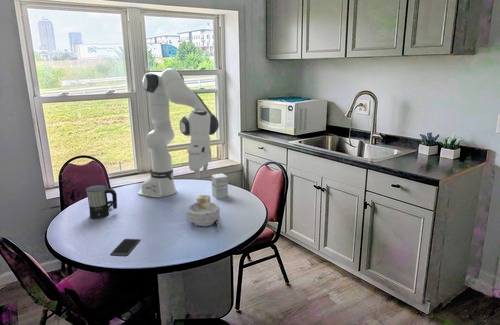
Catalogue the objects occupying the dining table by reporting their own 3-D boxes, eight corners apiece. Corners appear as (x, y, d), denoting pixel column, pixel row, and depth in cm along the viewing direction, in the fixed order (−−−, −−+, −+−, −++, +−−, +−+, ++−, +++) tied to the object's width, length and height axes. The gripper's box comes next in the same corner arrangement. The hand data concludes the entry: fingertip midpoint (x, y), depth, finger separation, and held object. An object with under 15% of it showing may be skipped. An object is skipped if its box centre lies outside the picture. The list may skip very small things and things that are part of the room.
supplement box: (212, 195, 206) (211, 174, 203) (223, 193, 209) (223, 172, 206) (216, 199, 200) (215, 178, 197) (228, 197, 203) (227, 176, 200)
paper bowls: (214, 230, 161) (214, 214, 159) (183, 227, 164) (182, 212, 162) (223, 217, 176) (223, 202, 174) (194, 214, 179) (194, 200, 177)
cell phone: (109, 256, 140) (109, 254, 140) (124, 240, 154) (124, 238, 154) (127, 257, 140) (127, 255, 139) (141, 240, 153) (140, 239, 153)
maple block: (197, 208, 166) (196, 198, 165) (200, 204, 171) (200, 194, 170) (207, 209, 165) (206, 199, 164) (210, 205, 170) (210, 195, 169)
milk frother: (92, 220, 173) (88, 192, 169) (83, 211, 185) (80, 184, 181) (121, 213, 182) (118, 186, 178) (111, 204, 194) (108, 179, 190)
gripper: (201, 141, 171) (202, 168, 174) (185, 150, 151) (186, 180, 155) (214, 141, 169) (215, 169, 173) (199, 151, 150) (200, 181, 154)
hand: (201, 174), depth 164 cm, fingers open, 8 cm apart
